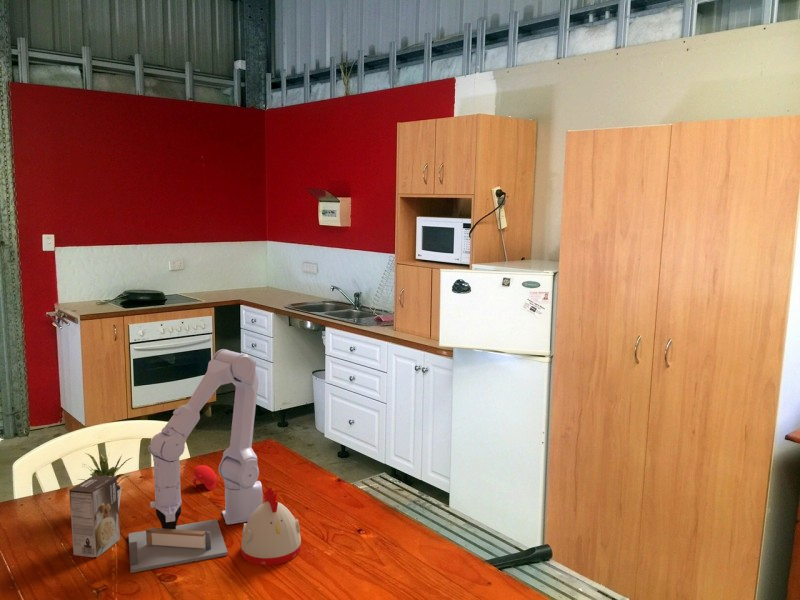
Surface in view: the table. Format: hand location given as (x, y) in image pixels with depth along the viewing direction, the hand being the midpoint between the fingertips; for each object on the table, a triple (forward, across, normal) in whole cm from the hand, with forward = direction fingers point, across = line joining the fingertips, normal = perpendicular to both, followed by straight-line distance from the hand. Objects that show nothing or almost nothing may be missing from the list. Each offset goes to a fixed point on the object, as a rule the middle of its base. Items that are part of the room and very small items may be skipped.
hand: (169, 537), depth 162 cm
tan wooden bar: (+1, +3, +1) cm, 3 cm away
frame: (+2, +1, +2) cm, 3 cm away
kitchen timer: (+2, +11, +22) cm, 25 cm away
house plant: (+2, -25, -15) cm, 29 cm away
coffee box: (+2, -5, -16) cm, 17 cm away
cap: (+2, -32, +12) cm, 34 cm away
